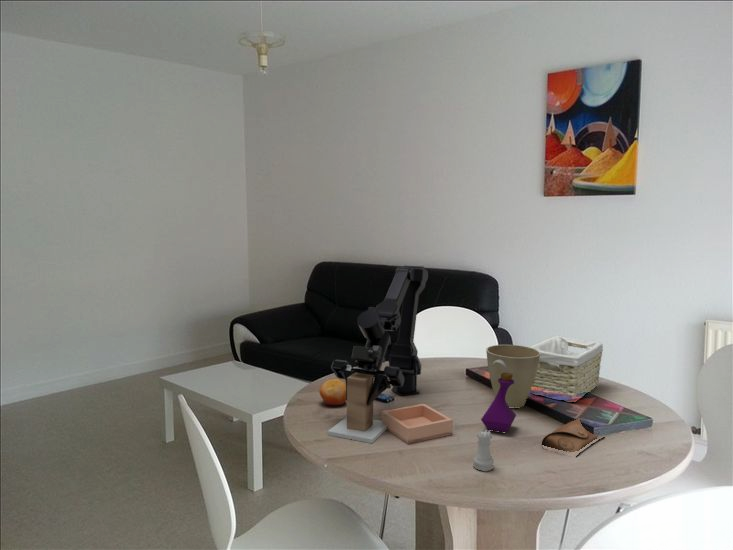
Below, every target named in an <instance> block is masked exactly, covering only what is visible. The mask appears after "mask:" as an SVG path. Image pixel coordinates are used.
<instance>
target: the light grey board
mask: <svg viewBox="0 0 733 550" xmlns="http://www.w3.org/2000/svg"><path fill="white" fill-rule="evenodd" d="M386 431H388V430H387V425H386V424H384V423H383V422H382V420H379V419H374V418H373V425H372V426H371V427H370V428H369V429H367V430H366V431H365V432H363V431H358V430H353V429H348V428H347V416H345V418H343V419H341V420H340V421H339V422H338V423H336V424H335V425H334V426H332V427H331V428H329V430H327V436H331V437H335V438H340V439H346V440H347V439H348V440H351V439H352V441H357V442H362V443H367V444H374V443H375V442H376V441H377V440H378V439H379V438H380V437H381V436H382V435H383V434H384V433H385V432H386Z"/></svg>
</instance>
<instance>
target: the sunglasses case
mask: <svg viewBox="0 0 733 550" xmlns="http://www.w3.org/2000/svg"><path fill="white" fill-rule="evenodd" d="M576 418H577V419H576ZM576 418H575V419H576V420H575V419H574V421H573V420H572V421H569V422H568V423H566V424H564V425H562V426H560V427H559V428H557V429H556V430H555V429H554V430H553V431H552V432H551V433H548V434H547V435H545V436H544V437H543V439H542V441H541V446H542V445H544V446H547V447H551V448H555V449H558V450H563V451H566V452H567V451H569V452H575V451H579V450H580V449H582V448H583V447H585V446H586V445H587V444H589V443H590V442H592V441H593V440H595V439H597V437H598V436H596V435H594V434H592V433H590V432H589V431H587V430H586V429H585V428H584V427H583V426H582V424H581V422H580V418H579V417H576Z"/></svg>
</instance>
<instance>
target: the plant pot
mask: <svg viewBox="0 0 733 550" xmlns="http://www.w3.org/2000/svg"><path fill="white" fill-rule="evenodd" d="M530 347H531V346H524V345H517V344H495V345H489V346H487V347H486V350H485V351H486V359H487V368H488V373H489V378H490V379H489V380H490V382H491V387H492V391H493V395H494V398H495V397H496V395H497V393H498V391H499V389H500V383H499V382H498V379H499V378H501V374H502V373H506V368H507V373H512V374H513V376H512V380H514V384H512V385H511V386H510V387H509V388H508V390H507V392H506V396H505V400H506V403H507V405H508V406H509V407H514V408H515V407H522V406H523V407H524V406H525V404H526V401H527V400H528V397H529V396H530V394H531V393H530V390H531V387H532V385H533V382H534V378H535V375H536V371H537V367H538V363H539V358H540V352H539V351H538V350H535V349H533V348H530ZM496 360H502V361H503V362H504V363H505V364H506V368H505V367H504V366H503V365H502V364H500V363H498V362H495V363H494V364H493V362H494V361H496ZM492 364H493V367H492ZM526 399H527V400H526ZM523 407H522V408H523Z"/></svg>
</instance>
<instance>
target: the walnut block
mask: <svg viewBox="0 0 733 550" xmlns="http://www.w3.org/2000/svg"><path fill="white" fill-rule="evenodd" d="M373 383H374V375H369V374H362V373H354V374H352V375H351V376H349V377H348V378H347V401H346V417H347V428H348V429H353V430H358V431H363V432H365V431H366V430H367V429H369V428H370V427H371V426H372V425H373V419H374V401H373V402H372V403H371V404H370V405H367V400H368V397H369V394H370V391H371V389H372V386H373Z"/></svg>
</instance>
